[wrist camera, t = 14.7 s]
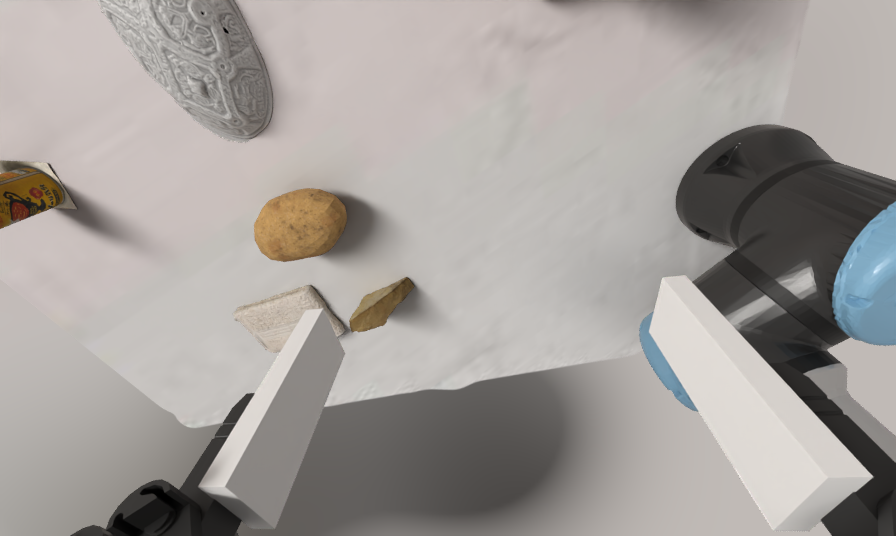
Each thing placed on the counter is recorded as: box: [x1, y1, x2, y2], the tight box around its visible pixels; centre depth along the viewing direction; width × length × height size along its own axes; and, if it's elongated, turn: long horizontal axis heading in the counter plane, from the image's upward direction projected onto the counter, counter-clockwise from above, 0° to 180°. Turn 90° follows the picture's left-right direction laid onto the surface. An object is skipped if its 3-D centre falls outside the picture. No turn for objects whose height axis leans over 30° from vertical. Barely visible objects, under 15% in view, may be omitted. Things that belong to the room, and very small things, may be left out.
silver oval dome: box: [96, 0, 273, 143], centre depth 36 cm, size 16×25×7 cm, turn 22°
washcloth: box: [233, 285, 345, 353], centre depth 62 cm, size 12×18×3 cm, turn 113°
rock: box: [349, 277, 414, 332], centre depth 56 cm, size 11×9×10 cm
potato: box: [254, 188, 347, 262], centre depth 46 cm, size 10×14×8 cm
